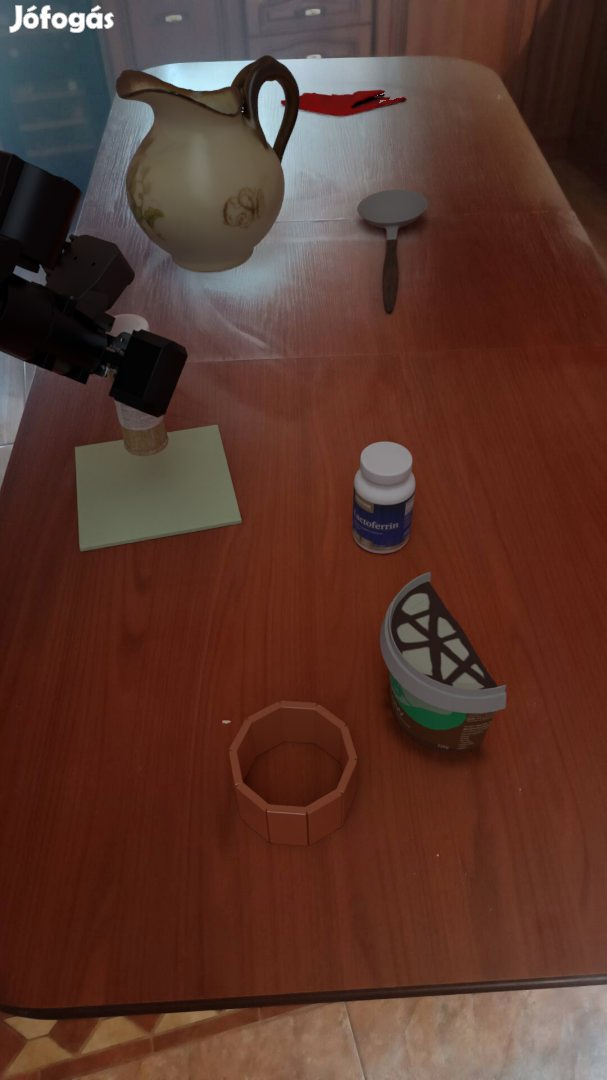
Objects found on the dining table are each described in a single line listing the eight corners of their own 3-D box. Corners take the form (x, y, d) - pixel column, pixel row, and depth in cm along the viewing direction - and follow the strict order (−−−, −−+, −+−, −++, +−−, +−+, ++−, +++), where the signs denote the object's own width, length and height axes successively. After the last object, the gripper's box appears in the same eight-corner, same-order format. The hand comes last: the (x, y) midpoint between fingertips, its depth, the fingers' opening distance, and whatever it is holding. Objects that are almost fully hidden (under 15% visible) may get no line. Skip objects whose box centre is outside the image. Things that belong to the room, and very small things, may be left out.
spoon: (427, 205, 129) (427, 187, 127) (430, 320, 107) (430, 301, 105) (360, 210, 131) (358, 192, 129) (349, 324, 109) (347, 305, 107)
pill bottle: (344, 548, 77) (346, 470, 70) (360, 509, 81) (363, 432, 74) (402, 561, 76) (410, 483, 69) (416, 521, 80) (424, 443, 73)
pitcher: (112, 279, 116) (73, 89, 98) (177, 211, 132) (153, 36, 114) (257, 299, 111) (244, 103, 93) (307, 226, 127) (304, 46, 109)
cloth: (272, 114, 162) (272, 102, 161) (286, 92, 172) (286, 81, 170) (401, 120, 159) (401, 107, 157) (407, 97, 168) (408, 85, 166)
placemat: (80, 551, 78) (79, 548, 78) (75, 450, 89) (74, 446, 89) (242, 523, 80) (241, 519, 80) (218, 427, 91) (217, 424, 91)
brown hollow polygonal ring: (248, 860, 57) (242, 829, 53) (227, 747, 63) (221, 712, 59) (367, 831, 58) (370, 799, 54) (336, 723, 64) (336, 688, 60)
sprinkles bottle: (132, 428, 82) (106, 310, 73) (175, 432, 82) (155, 313, 72) (117, 456, 79) (89, 336, 70) (162, 461, 78) (139, 340, 69)
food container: (352, 665, 68) (354, 588, 61) (417, 644, 69) (427, 566, 62) (416, 792, 60) (428, 721, 53) (489, 765, 61) (510, 691, 54)
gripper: (154, 249, 57) (255, 320, 71) (-21, 194, 64) (102, 268, 79) (98, 396, 58) (209, 437, 72) (-68, 324, 66) (62, 374, 80)
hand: (143, 374), depth 76 cm, fingers closed on sprinkles bottle, 4 cm apart
